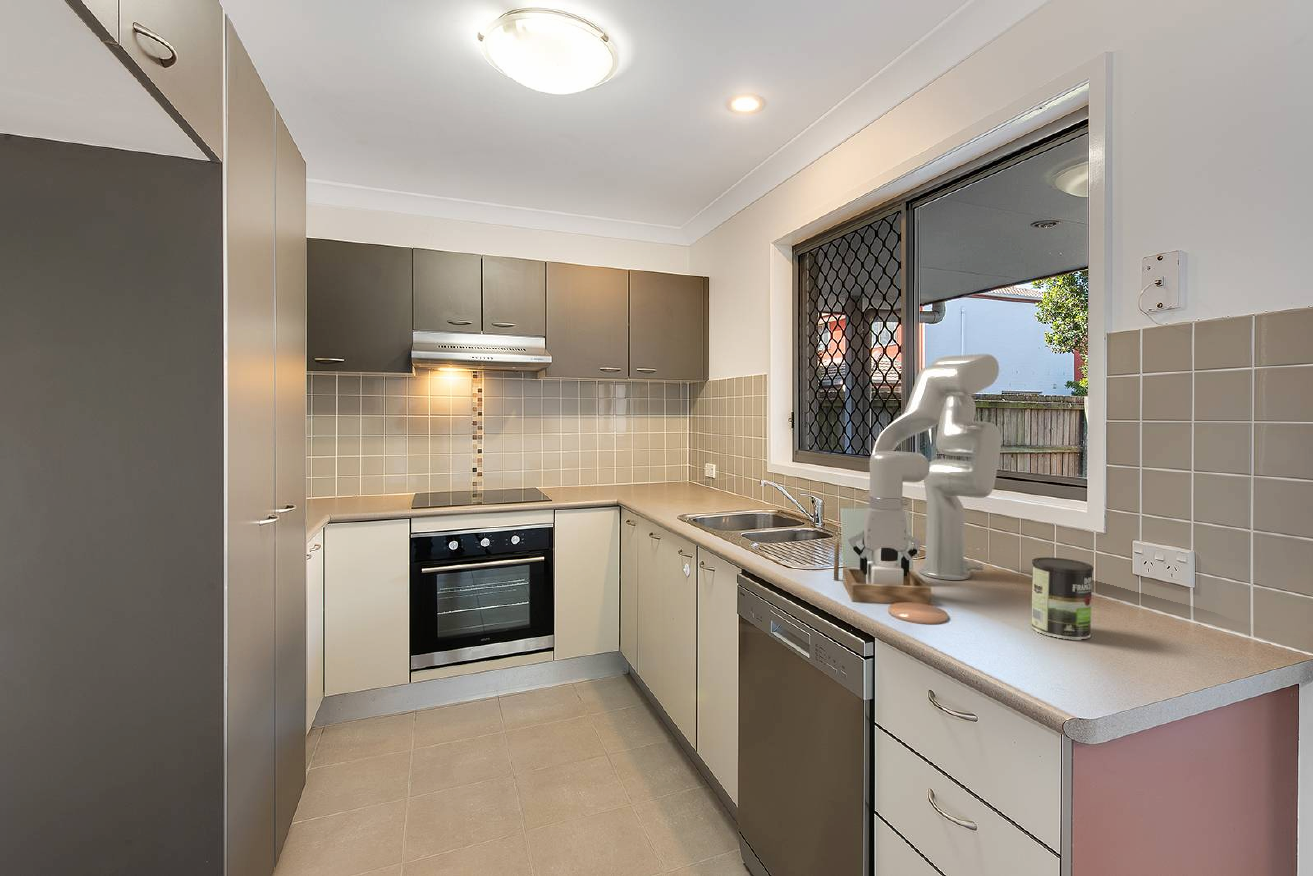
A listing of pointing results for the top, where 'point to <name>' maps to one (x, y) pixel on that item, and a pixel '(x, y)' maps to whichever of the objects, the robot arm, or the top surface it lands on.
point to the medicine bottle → (884, 568)
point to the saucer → (918, 613)
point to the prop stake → (836, 559)
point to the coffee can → (1061, 598)
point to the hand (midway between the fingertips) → (884, 574)
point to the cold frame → (886, 589)
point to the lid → (854, 526)
